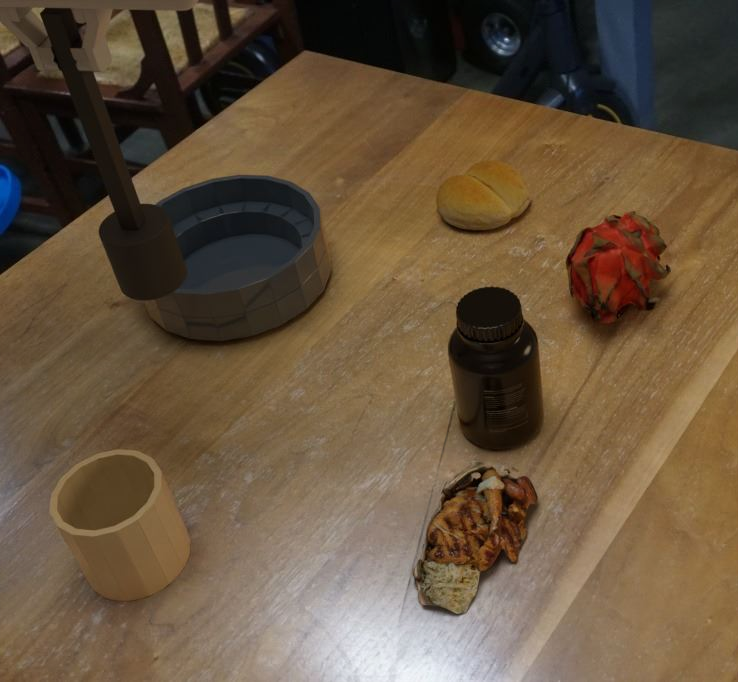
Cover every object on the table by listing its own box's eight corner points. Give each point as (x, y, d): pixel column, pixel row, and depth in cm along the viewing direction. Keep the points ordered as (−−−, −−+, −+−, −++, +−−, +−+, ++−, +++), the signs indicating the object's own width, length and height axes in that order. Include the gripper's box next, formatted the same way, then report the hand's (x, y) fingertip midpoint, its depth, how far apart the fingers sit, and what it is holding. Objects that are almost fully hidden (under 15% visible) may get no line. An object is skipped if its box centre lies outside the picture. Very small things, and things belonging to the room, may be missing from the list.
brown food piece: (398, 602, 76) (391, 571, 73) (456, 471, 84) (451, 440, 81) (494, 625, 74) (490, 595, 71) (544, 489, 82) (542, 457, 80)
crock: (71, 599, 78) (30, 530, 72) (113, 515, 83) (78, 445, 77) (169, 609, 76) (135, 540, 71) (206, 523, 82) (177, 453, 76)
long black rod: (109, 298, 78) (-3, 27, 64) (136, 256, 82) (35, -11, 67) (172, 302, 78) (74, 28, 63) (197, 259, 81) (108, -10, 66)
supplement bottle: (555, 398, 89) (549, 285, 81) (527, 460, 84) (518, 347, 76) (476, 381, 91) (462, 269, 83) (445, 441, 86) (427, 329, 78)
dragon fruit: (647, 268, 102) (605, 366, 96) (573, 216, 101) (526, 312, 94) (701, 226, 95) (660, 329, 89) (623, 170, 94) (575, 270, 87)
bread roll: (422, 209, 109) (417, 175, 106) (494, 172, 112) (491, 139, 110) (473, 247, 104) (469, 212, 101) (545, 208, 108) (544, 174, 105)
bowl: (116, 339, 97) (94, 288, 93) (185, 221, 110) (168, 171, 106) (302, 351, 95) (288, 298, 91) (352, 228, 107) (341, 177, 103)
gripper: (196, -189, 59) (252, 46, 69) (-146, -186, 62) (-47, 38, 72) (150, -145, 55) (217, 99, 64) (-216, -145, 58) (-100, 88, 67)
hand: (75, 67), depth 68 cm, fingers closed on long black rod
